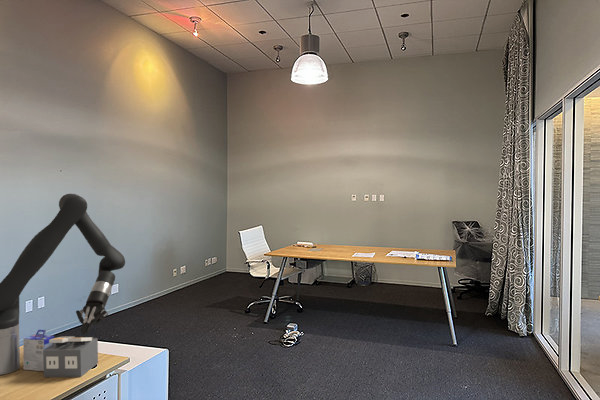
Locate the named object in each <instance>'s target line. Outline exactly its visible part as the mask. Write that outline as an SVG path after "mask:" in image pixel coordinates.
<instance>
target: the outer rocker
mask: <svg viewBox="0 0 600 400" xmlns="http://www.w3.org/2000/svg"><path fill="white" fill-rule="evenodd" d="M92 338H93V336H92V337H90V336H89V337H88V336H87V337H85V336H84V337H83V336H80V337H79V336H78V337H75V338H68V342H69V341H92Z"/></svg>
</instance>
